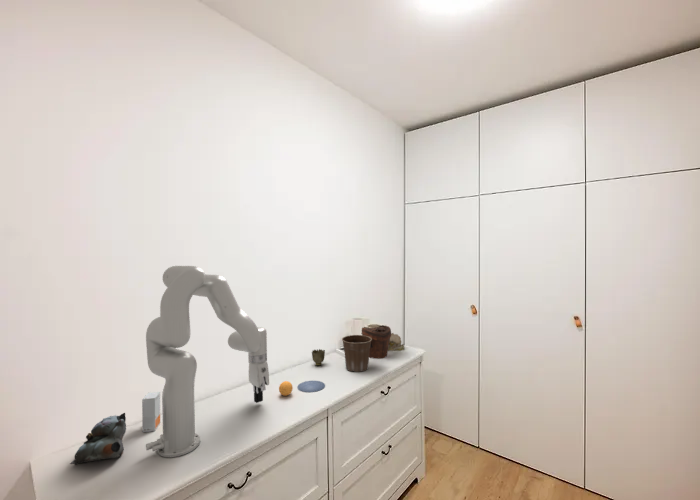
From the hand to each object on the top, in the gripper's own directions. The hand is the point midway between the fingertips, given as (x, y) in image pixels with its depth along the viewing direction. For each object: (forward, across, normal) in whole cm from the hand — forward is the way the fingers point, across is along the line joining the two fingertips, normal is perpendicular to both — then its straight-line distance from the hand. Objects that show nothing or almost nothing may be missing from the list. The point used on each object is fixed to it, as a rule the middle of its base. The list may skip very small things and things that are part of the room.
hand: (258, 401), depth 140 cm
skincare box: (+2, +11, +37) cm, 39 cm away
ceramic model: (+2, +12, -101) cm, 102 cm away
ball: (-2, 0, -13) cm, 13 cm away
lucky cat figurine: (+2, +2, +53) cm, 53 cm away
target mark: (+2, 0, -27) cm, 27 cm away
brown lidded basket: (+2, +10, -83) cm, 84 cm away
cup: (+2, +21, -47) cm, 52 cm away
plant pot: (+2, +2, -59) cm, 59 cm away
